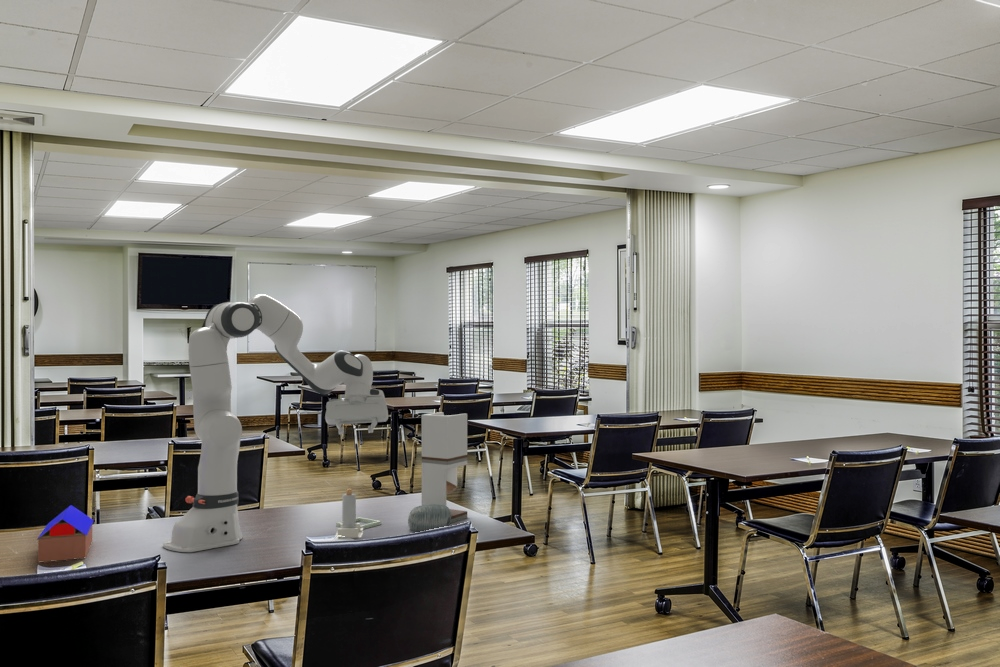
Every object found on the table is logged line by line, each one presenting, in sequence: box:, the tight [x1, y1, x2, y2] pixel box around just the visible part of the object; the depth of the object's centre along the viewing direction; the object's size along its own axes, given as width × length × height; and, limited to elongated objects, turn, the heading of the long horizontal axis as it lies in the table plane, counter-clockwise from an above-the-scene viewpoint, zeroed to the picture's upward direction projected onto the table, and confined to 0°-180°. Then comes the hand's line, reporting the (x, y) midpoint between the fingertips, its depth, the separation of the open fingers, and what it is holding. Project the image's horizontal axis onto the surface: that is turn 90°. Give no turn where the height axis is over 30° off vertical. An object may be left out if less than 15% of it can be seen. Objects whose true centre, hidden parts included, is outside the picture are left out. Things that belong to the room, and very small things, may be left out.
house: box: [36, 504, 95, 562], centre depth 227 cm, size 12×20×12 cm, turn 22°
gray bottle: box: [341, 488, 357, 528], centre depth 244 cm, size 4×4×14 cm
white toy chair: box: [334, 522, 365, 539], centre depth 246 cm, size 8×11×3 cm
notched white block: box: [421, 411, 468, 524], centre depth 269 cm, size 11×11×35 cm
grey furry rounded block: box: [407, 504, 451, 532], centre depth 252 cm, size 14×10×10 cm
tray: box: [335, 516, 382, 530], centre depth 256 cm, size 10×10×2 cm
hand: (355, 432), depth 257 cm, fingers open, 8 cm apart
